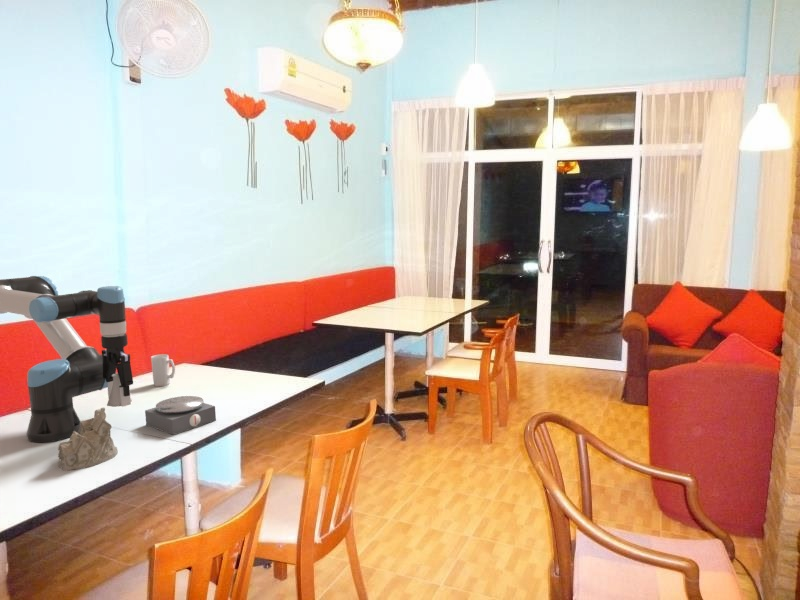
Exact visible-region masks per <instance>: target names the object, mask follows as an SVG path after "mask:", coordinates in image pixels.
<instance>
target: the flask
mask: <svg viewBox="0 0 800 600" xmlns="http://www.w3.org/2000/svg"><path fill="white" fill-rule="evenodd" d="M112 377H113V387H112V390H111V394H110V397H109V398H108V401H107V404H106V406H107V407H122V406H121V395H120V387H119V386H121V383H120V379H119V375H118V372H116V374H113V375H112ZM130 402H131V403H132V402H133V399H132V397H130Z"/></svg>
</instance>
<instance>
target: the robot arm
mask: <svg viewBox="0 0 800 600" xmlns="http://www.w3.org/2000/svg"><path fill="white" fill-rule="evenodd" d="M124 295H125V294H124V289H123V288H122V287H121V286H118V285H108V286H107V285H106V286H100V287H98V288H97V291H96V290H90V289H89V290H81V291H78V292H75V293H67V294H60V295H59V292H58V290H57V286H56V285H55V282H53V280H52V279H50V278H49V277H47V276H44V275H40V276H39V275H38V276H37V275H31V276H28V277H27V276H26V277H16V278H15V277H14V278H3V279H0V315H1V314H7V313H11V314H16V315H21V316H23V317H25V318H27V319H29V320H33V321H34V323H35V325H37V327H38V328H39V330H40V331H41V332H42V333H43V335H44V336H45V338H46V340H47V341H48V342H49V343H50V345H51V346H52V347H53V348H54V350H55V351H56V352H57V353H58V355H59V357H60V358H57V359H56V358H55V359H53V360H52V359H51V360H50V359H49V360H46V361H42V362H39V363H37V364H35V365H34V366H32V367H30V368H29V369H28V371H27V375H26V376H27V382H26V385H27V388H28V389H27V390H28V396H29V404H30V412H31V413H30V414H31V415H30V419H29V422H28V427H27V431H26V437H27V441H30V442H31V443H32V442H33V443H48V442H57V441H61V440H64V439H68V438H70V437H71V435H72V433H73V431H75V432H78V430H79V428H80V423H81V420H80V418H79V415H78V413H77V412H76V410H75V408H74V400H73V398H75V397H78V396H82V395H86V394H89V393H93V392H97V391H102V390H103V389H106V388H107V394H108V395H107V396H108V397H107V398H108V399H109V397H110V394H111V390H112V387H113V377H112V375H113V374H116V373H118V375H119V379H120V383H121V386H119V387H120V395H121V406H120V407H122V408H123V407H126V406H129V405H132V401H131V402H130V398H131V393H130V386H132V385H134V378H133V371H132V367H131V366H132V365H131V355H130V353H127V354H126V352H125V349H124V347H127V346H128V335H127V334H126V333H127V326H128V324H127V322H126V321H127V320H126V317H127V316H126V305H125V303H126V302H125V300H126V299H125V296H124ZM89 315H97V316H99V317H98V319H99V329H100V335H101V337H100V340H101V341H100V342H101V347H102V348H103V349H102V350H101V354H100V352H99V351H98V350H97V349H96V348H95V347H93V346H89V345H87V343H86V342H85V341H84V340H83V339H82V337H81V336H80V334H78V332H77V331H76V329H75V328H74V327H73V326H72V324H71V323H70V322H69V320H68V318H69V319H70V318H77V317H83V316H89Z"/></svg>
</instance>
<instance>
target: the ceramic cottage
mask: <svg viewBox="0 0 800 600" xmlns="http://www.w3.org/2000/svg"><path fill="white" fill-rule="evenodd" d="M106 418H107V414H106V408H105V407H101V408H100V409H95V410H94V417H92V418H89V419H84V420H82V421H81V420H80V421H81V423H80V428H79V430H78V432H75V431H73V433H72V435H71V437H69V440H66V441H61V442H60V443H59V445H58V447H57V448H58V449H57V451H58V454H57V457H58V460H59V461H58V463H57V468H60V469H61V470H62V471H72V470H79V469H84V468H90V467H93V466H96V465H99V464H102V463H105V462H107V461H110V460H112V459H115V457H116V456H117V455H118V453H119V452H118V447H117V446H115V444H114V440H113V438H112V437H111V429H112V425H111V424H110V423H109V422H107V420H106Z"/></svg>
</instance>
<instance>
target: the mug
mask: <svg viewBox="0 0 800 600" xmlns="http://www.w3.org/2000/svg"><path fill="white" fill-rule="evenodd" d="M150 360H151V370H152V379H153V386H154V387H163V386H168V385H170V384H171V379H173V378H174V377H175V374H176V373H175V372H176V366H175V363H174V360H173V359H172V358H171V359H170V357H169V354H163V353H162V354H160V353H159V354H155V355H152V356H150ZM170 365H171V368H172V371H171V373H170Z"/></svg>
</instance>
